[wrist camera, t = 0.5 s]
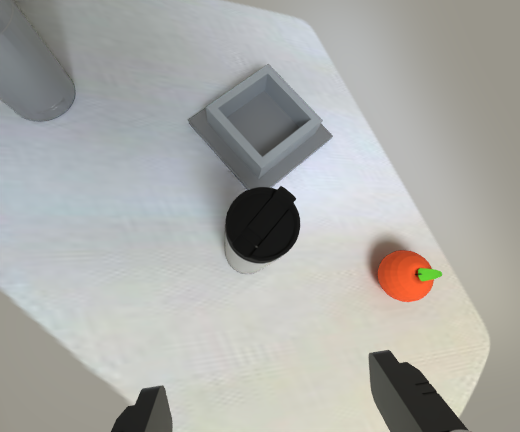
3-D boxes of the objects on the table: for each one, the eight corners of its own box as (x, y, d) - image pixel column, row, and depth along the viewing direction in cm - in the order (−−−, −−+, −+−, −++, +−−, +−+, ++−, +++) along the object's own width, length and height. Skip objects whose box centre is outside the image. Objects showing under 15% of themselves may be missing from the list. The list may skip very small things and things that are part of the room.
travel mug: (279, 247, 45) (319, 214, 25) (250, 283, 43) (270, 277, 24) (246, 220, 45) (260, 167, 26) (216, 254, 43) (208, 226, 24)
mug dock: (188, 123, 48) (184, 104, 43) (265, 70, 51) (269, 47, 47) (256, 199, 46) (260, 188, 41) (330, 138, 50) (342, 122, 45)
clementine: (416, 251, 47) (448, 245, 40) (424, 299, 45) (459, 300, 38) (366, 254, 46) (390, 247, 39) (372, 302, 44) (399, 304, 37)
